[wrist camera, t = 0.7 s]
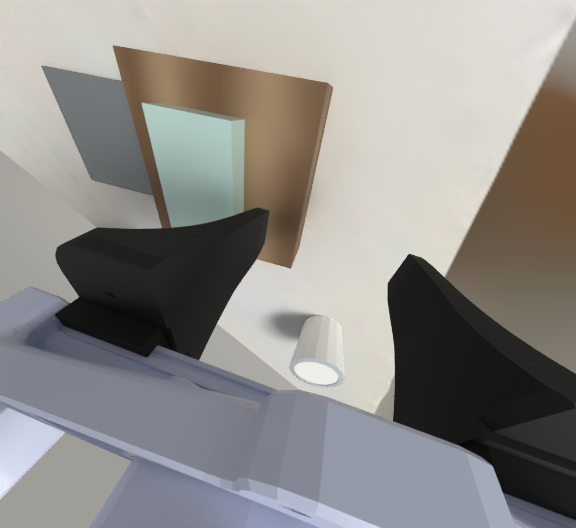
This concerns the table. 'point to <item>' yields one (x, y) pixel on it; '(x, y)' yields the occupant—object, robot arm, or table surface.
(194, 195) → the mint green flat block
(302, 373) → the white short cylinder
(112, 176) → the mat
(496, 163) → the table surface
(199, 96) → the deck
